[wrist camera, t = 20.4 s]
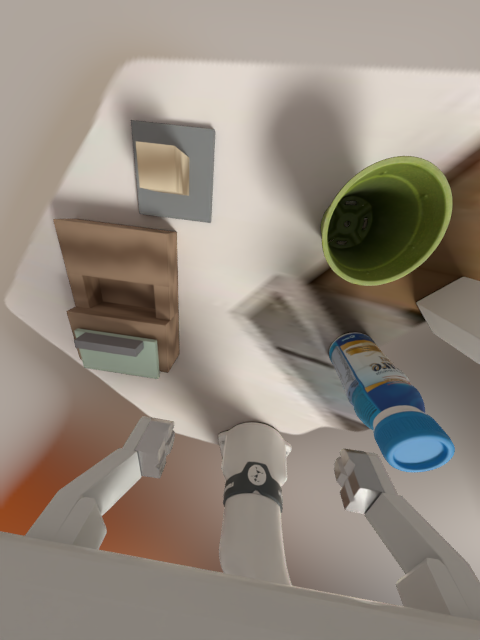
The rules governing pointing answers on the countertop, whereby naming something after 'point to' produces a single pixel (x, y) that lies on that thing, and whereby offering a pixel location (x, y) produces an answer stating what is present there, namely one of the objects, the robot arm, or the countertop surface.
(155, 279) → the puzzle board
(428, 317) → the milk carton
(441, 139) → the countertop surface
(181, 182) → the maple block
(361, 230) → the plant pot
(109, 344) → the sliding lid
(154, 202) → the rubber pad
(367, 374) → the beverage bottle
